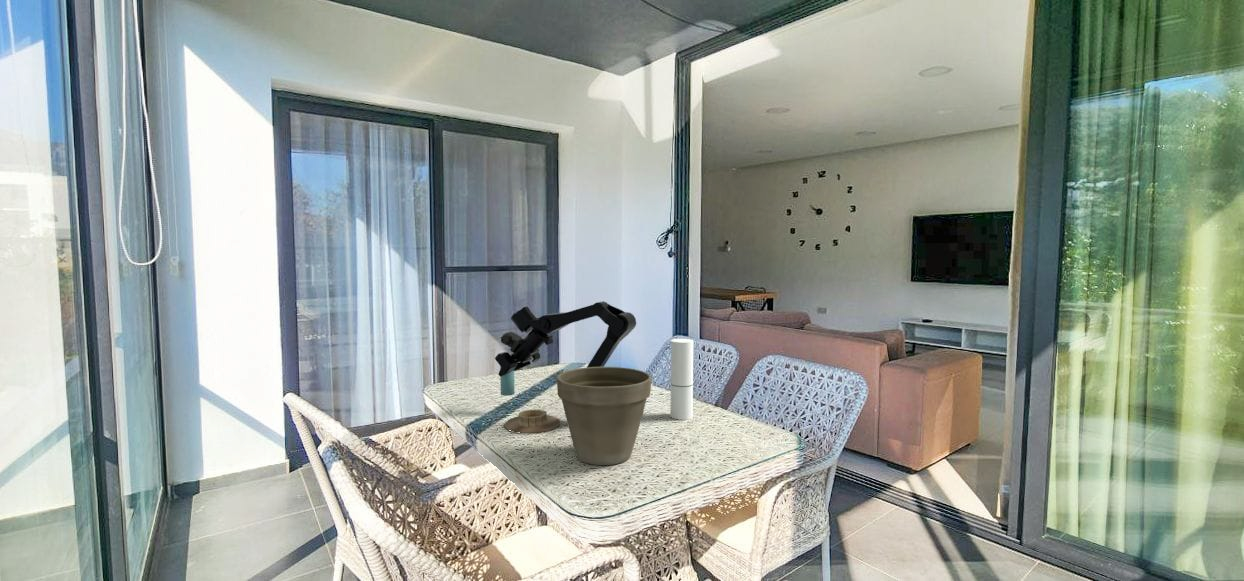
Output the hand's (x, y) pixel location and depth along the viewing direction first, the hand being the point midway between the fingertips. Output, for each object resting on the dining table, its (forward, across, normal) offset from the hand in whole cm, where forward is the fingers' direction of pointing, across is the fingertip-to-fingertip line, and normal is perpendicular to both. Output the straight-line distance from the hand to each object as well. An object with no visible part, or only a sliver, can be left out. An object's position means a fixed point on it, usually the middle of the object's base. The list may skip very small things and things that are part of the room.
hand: (503, 373), depth 187 cm
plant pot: (-23, +21, +42) cm, 53 cm away
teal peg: (+4, 0, +6) cm, 7 cm away
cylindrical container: (-30, -19, +49) cm, 60 cm away
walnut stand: (-2, +7, +20) cm, 21 cm away
